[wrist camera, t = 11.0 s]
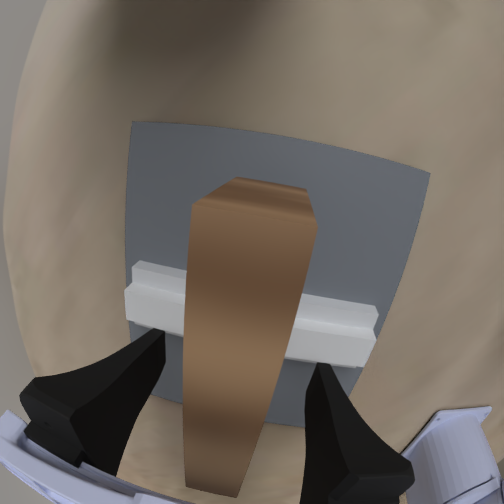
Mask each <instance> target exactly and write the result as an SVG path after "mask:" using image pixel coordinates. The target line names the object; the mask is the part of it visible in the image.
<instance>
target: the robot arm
mask: <svg viewBox="0 0 504 504" xmlns="http://www.w3.org/2000/svg"><path fill="white" fill-rule="evenodd" d="M165 363H166V343H165V331H163V330H160V329H156V328H153V329H151V330H150V331H148V332H147V333H145V334H144V335H142V336H141V337H139V338H138V339H136V340H135V341H133V342H132V343H130V344H129V345H127V346H125V347H124V348H122V349H121V350H119V351H117V352H116V353H114V354H112V355H110V356H108V357H107V358H105V359H102V360H100V361H98V362H96V363H94V364H91V365H89V366H86V367H83V368H80V369H77V370H74V371H70V372H66V373H62V374H57V375H52V376H44V377H35V378H34V379H33V380H32V381H31V382H30V383H29V384H28V386H26V388H25V389H24V390H23V391H22V392H21V394H20V395H19V396H20V401H21V404H22V406H23V407H24V409H25V411H26V413H27V414H28V416H29V418H30V419H31V422H30V423H29V424H27V423H26V422H25V421H24V420H22V419H21V418H20V417H18V416H17V415H15V414H14V413H13V412H11V411H10V410H6V412H5V413H4V414H3V415H2V416H1V418H0V462H1V463H2V465H3V466H4V467H5V468H7V469H8V470H9V471H10V472H11V473H13V474H14V475H15V476H17V477H18V478H19V479H21V480H22V481H23V482H24V483H26V484H27V485H29V486H30V487H31V488H33V489H34V490H35V491H37V492H38V493H40V494H41V495H43V496H44V497H45V498H47V499H49V500H50V501H51V502H53V503H55V504H194V503H190V502H187V501H183V500H179V499H176V498H173V497H169V496H166V495H163V494H160V493H157V492H154V491H151V490H148V489H145V488H142V487H140V486H137V485H134V484H132V483H129V482H127V481H124V480H122V479H119V478H117V477H116V475H117V471H118V468H119V465H120V461H121V458H122V455H123V452H124V450H125V447H126V444H127V441H128V439H129V436H130V434H131V431H132V429H133V426H134V424H135V421H136V419H137V417H138V415H139V413H140V411H141V409H142V408H143V406H144V404H145V402H146V401H147V399H148V397H149V396H150V394H151V392H152V391H153V389H154V387H155V385H156V384H157V382H158V380H159V378H160V376H161V373H162V371H163V368H164V366H165ZM491 410H492V408H491V406H486V407H477V408H468V409H456V410H441V411H438V412H437V413H436V414H435V415H434V416H433V417H432V419H431V420H430V421H429V423H428V424H427V425H426V426H425V427H424V429H423V430H422V431H421V432H420V433H419V435H418V436H417V437H416V438H415V439H414V440H413V442H412V443H411V444H410V445H409V446H408V447H407V448H406V449H405V450H404V452H403V453H402V454H401V455H400V454H399V453H397V452H396V451H395V450H393V449H392V448H391V447H390V446H389V445H387V444H386V443H385V442H384V441H383V440H382V439H381V438H380V437H379V436H378V435H377V434H376V433H375V432H374V431H373V430H372V429H371V428H370V427H369V426H368V425H367V424H366V422H365V421H364V420H363V419H362V417H361V416H360V415H359V413H358V412H357V411H356V409H355V408H354V406H353V405H352V403H351V401H350V400H349V398H348V396H347V395H346V393H345V391H344V390H343V388H342V386H341V384H340V382H339V380H338V378H337V376H336V375H335V373H334V370H333V368H332V366H331V365H330V364H328V363H320V362H317V364H316V367H315V369H314V372H313V374H312V377H311V380H310V382H309V385H308V387H307V390H306V395H305V408H304V414H305V437H306V458H305V468H304V477H303V485H302V492H301V498H300V504H399V502H400V501H399V496H400V495H401V494H403V493H404V492H405V491H406V497H407V503H408V504H504V479H503V478H501V476H500V472H499V470H498V467H497V464H496V461H495V459H494V456H493V454H492V451H491V449H490V446H489V444H488V441H487V439H486V437H485V434H484V432H483V430H482V427H481V425H480V424H481V423H482V422H483V420H484V419H485V418H486V417H487V415H488V414H489V413H490V412H491Z"/></svg>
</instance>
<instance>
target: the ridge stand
mask: <svg viewBox="0 0 504 504" xmlns="http://www.w3.org/2000/svg"><path fill="white" fill-rule="evenodd" d="M235 177H243V178H249V179H255V180H261V181H267V182H273V183H278V184H284V185H289V186H294V187H299V188H304V189H306V190H307V193H308V196H309V199H310V202H311V206H312V209H313V212H314V216H315V219H316V222H317V226H318V229H317V234H316V238H315V242H314V247H313V251H312V255H311V259H310V263H309V268H308V272H307V276H306V280H305V284H304V287H303V291H302V295H301V299H300V303H299V307H298V310H297V314H296V318H295V321H294V325H293V329H292V332H291V336H290V339H289V343H288V346H287V350H286V353H285V357H284V360H283V363H282V367H281V370H280V373H279V377H278V380H277V383H276V386H275V390H274V393H273V396H272V399H271V402H270V405H269V408H268V412H267V415H266V418H265V421H264V422H268V423H275V424H282V425H289V426H297V427H305V414H304V408H305V395H306V390H307V387H308V385H309V382H310V380H311V377H312V374H313V372H314V369H315V367H316V364H317V362H320V363H328V364H330V365H331V366H332V368H333V370H334V373H335V375H336V376H337V378H338V380H339V382H340V384H341V386H342V388H343V390H344V391H345V393H346V395H347V396H348V397H349V395H350V393H351V391H352V389H353V387H354V385H355V384H356V382H357V380H358V378H359V376H360V374H361V372H362V370H363V368H364V366H365V364H366V362H367V360H368V358H369V355H370V353H371V351H372V349H373V347H374V345H375V342H376V340H377V337H378V335H379V333H380V331H381V328H382V326H383V324H384V321H385V319H386V316H387V314H388V311H389V309H390V306H391V304H392V301H393V299H394V296H395V293H396V291H397V288H398V285H399V282H400V280H401V277H402V274H403V271H404V268H405V265H406V262H407V259H408V256H409V253H410V250H411V247H412V243H413V240H414V237H415V233H416V230H417V226H418V223H419V219H420V215H421V211H422V208H423V204H424V200H425V196H426V191H427V187H428V183H429V178H430V173H429V172H426V171H423V170H420V169H417V168H414V167H410V166H407V165H404V164H401V163H397V162H394V161H390V160H387V159H383V158H380V157H376V156H372V155H368V154H364V153H361V152H357V151H353V150H348V149H344V148H340V147H335V146H331V145H326V144H322V143H317V142H312V141H307V140H302V139H296V138H291V137H285V136H279V135H273V134H267V133H261V132H254V131H247V130H239V129H231V128H222V127H213V126H203V125H191V124H177V123H160V122H132V127H131V136H130V146H129V157H128V171H127V188H126V216H125V258H126V286H127V288H126V289H125V290H124V295H125V309H126V319H127V320H129V328H130V338H131V343H132V342H133V341H135V340H136V339H138V338H139V337H141V336H142V335H144V334H145V333H147V332H148V331H150V330H151V329H153V328H156V329H160V330H163V331H165V343H166V363H165V366H164V368H163V371H162V373H161V376H160V378H159V380H158V382H157V384H156V385H155V387H154V389H153V391H152V392H151V395H155V396H158V397H161V398H164V399H167V400H171V401H174V402H178V403H181V404H183V336H184V309H185V289H186V273H187V258H188V245H189V232H190V221H191V210H192V204H194V203H195V202H197V201H198V200H200V199H201V198H203V197H204V196H206V195H208V194H209V193H211V192H212V191H214V190H216V189H217V188H219V187H220V186H222V185H224V184H225V183H227V182H229V181H230V180H232V179H233V178H235Z"/></svg>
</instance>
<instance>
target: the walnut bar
mask: <svg viewBox="0 0 504 504" xmlns="http://www.w3.org/2000/svg"><path fill="white" fill-rule="evenodd" d="M317 229H318V226H317V222H316V219H315V216H314V212H313V209H312V206H311V202H310V199H309V196H308V193H307V190H306V189H304V188H299V187H294V186H289V185H284V184H278V183H273V182H267V181H261V180H255V179H249V178H243V177H235V178H233V179H232V180H230V181H229V182H227V183H225V184H224V185H222V186H220V187H219V188H217V189H216V190H214V191H212V192H211V193H209V194H208V195H206V196H204V197H203V198H201V199H200V200H198V201H197V202H195V203H194V204H192V210H191V221H190V232H189V245H188V258H187V273H186V289H185V309H184V336H183V439H184V464H185V482H186V487H189V488H193V489H197V490H201V491H205V492H210V493H214V494H219V495H224V496H229V497H234V498H237V496H238V493H239V490H240V488H241V485H242V483H243V480H244V477H245V475H246V472H247V469H248V466H249V464H250V461H251V458H252V455H253V453H254V450H255V447H256V444H257V441H258V438H259V435H260V432H261V430H262V427H263V424H264V421H265V418H266V415H267V412H268V408H269V405H270V402H271V399H272V396H273V393H274V390H275V386H276V383H277V380H278V377H279V373H280V370H281V367H282V363H283V360H284V357H285V353H286V350H287V346H288V343H289V339H290V336H291V332H292V329H293V325H294V321H295V318H296V314H297V310H298V307H299V303H300V299H301V295H302V291H303V287H304V284H305V280H306V276H307V272H308V268H309V263H310V259H311V255H312V251H313V247H314V242H315V238H316V234H317Z"/></svg>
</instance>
